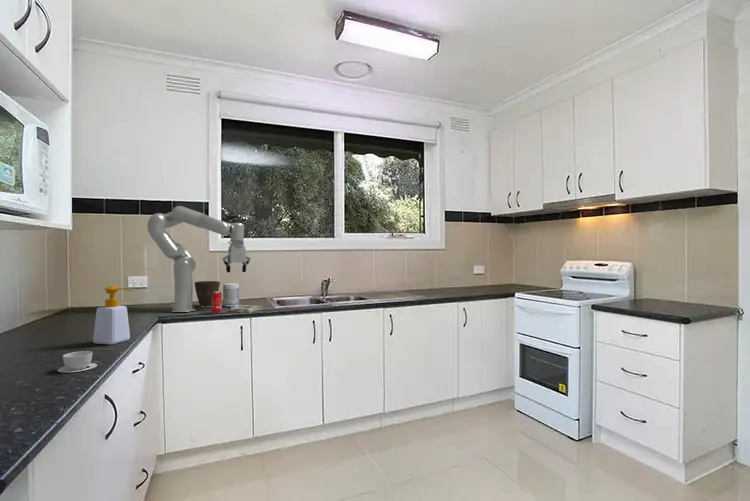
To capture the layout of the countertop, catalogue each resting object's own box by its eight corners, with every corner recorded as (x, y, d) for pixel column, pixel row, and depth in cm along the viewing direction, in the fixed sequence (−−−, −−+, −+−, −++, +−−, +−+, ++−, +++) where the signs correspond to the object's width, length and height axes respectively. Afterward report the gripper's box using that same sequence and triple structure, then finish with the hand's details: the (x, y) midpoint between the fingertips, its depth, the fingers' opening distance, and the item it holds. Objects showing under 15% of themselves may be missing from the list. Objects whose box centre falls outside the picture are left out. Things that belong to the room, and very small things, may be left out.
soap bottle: (121, 346, 155) (122, 287, 155) (91, 344, 158) (91, 286, 158) (140, 340, 165) (141, 285, 164) (111, 339, 167) (111, 284, 167)
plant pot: (201, 305, 266) (201, 280, 266) (223, 305, 266) (223, 281, 266) (189, 308, 252) (190, 282, 251) (213, 309, 251) (213, 282, 251)
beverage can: (211, 313, 233) (211, 292, 233) (212, 312, 238) (212, 291, 238) (221, 313, 234) (221, 292, 234) (222, 312, 239) (222, 291, 239)
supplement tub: (240, 307, 260) (241, 283, 260) (225, 308, 254) (225, 284, 254) (236, 305, 268) (236, 282, 268) (221, 306, 262) (221, 283, 262)
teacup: (100, 369, 126) (100, 354, 126) (59, 376, 119) (60, 360, 119) (93, 362, 134) (93, 348, 134) (55, 368, 127) (55, 353, 127)
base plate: (228, 311, 240) (228, 308, 240) (241, 308, 254) (241, 305, 254) (249, 313, 236) (249, 309, 236) (262, 309, 250) (262, 306, 250)
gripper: (225, 243, 237) (224, 272, 237) (253, 244, 249) (252, 272, 249) (220, 243, 242) (219, 272, 242) (247, 244, 254) (246, 271, 254)
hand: (236, 272), depth 245 cm, fingers open, 9 cm apart
